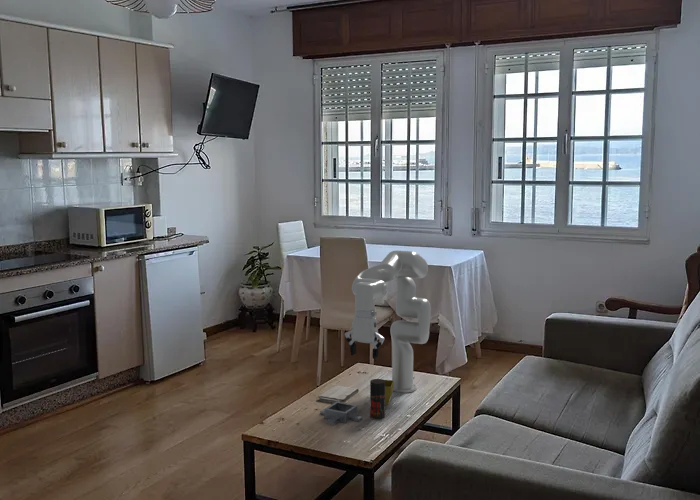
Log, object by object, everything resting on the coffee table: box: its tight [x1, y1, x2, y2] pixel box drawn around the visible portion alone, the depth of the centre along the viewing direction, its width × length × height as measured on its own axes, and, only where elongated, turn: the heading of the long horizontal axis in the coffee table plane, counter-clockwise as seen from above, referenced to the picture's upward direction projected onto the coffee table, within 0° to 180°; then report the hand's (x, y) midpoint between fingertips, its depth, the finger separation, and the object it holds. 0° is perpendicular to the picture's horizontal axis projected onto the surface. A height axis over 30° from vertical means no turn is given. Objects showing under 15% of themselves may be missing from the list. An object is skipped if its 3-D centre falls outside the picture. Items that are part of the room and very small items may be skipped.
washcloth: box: [317, 385, 360, 404], centre depth 293 cm, size 12×18×3 cm, turn 154°
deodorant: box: [369, 378, 386, 421], centre depth 269 cm, size 6×6×15 cm
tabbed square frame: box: [320, 401, 363, 426], centre depth 270 cm, size 18×18×4 cm
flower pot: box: [384, 379, 394, 406], centre depth 285 cm, size 9×9×9 cm
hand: (364, 356), depth 263 cm, fingers open, 9 cm apart
